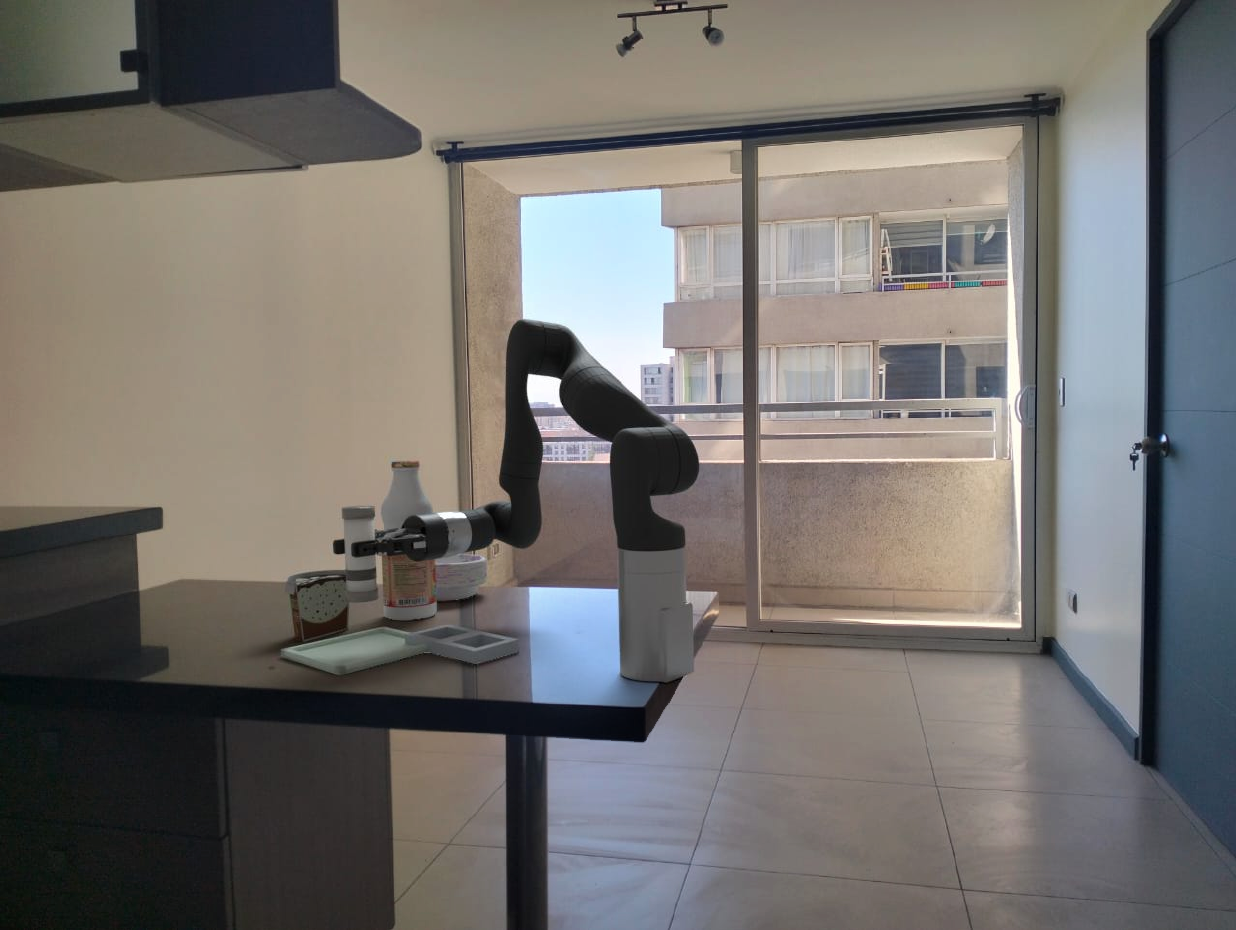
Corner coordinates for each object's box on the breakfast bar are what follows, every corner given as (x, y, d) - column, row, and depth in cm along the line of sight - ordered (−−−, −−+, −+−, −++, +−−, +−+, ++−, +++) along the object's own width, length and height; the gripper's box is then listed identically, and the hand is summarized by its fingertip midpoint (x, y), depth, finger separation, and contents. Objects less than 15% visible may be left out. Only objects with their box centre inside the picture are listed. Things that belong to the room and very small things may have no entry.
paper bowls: (501, 592, 180) (500, 553, 179) (462, 607, 166) (460, 565, 165) (437, 588, 185) (436, 551, 185) (394, 602, 171) (393, 562, 171)
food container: (330, 624, 153) (327, 567, 153) (354, 627, 150) (352, 569, 150) (270, 640, 143) (267, 579, 142) (295, 644, 140) (292, 581, 139)
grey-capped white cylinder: (384, 598, 133) (381, 506, 133) (356, 604, 130) (353, 509, 129) (366, 594, 137) (363, 505, 136) (339, 600, 133) (335, 508, 132)
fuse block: (519, 652, 131) (518, 639, 131) (475, 665, 125) (474, 651, 125) (448, 636, 142) (448, 624, 142) (405, 647, 136) (404, 634, 136)
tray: (444, 648, 135) (444, 640, 135) (339, 675, 121) (339, 667, 121) (384, 633, 145) (383, 626, 145) (281, 657, 132) (281, 649, 132)
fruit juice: (372, 617, 158) (367, 462, 157) (414, 608, 165) (409, 459, 164) (406, 623, 152) (401, 462, 151) (448, 613, 160) (443, 460, 158)
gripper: (409, 510, 148) (316, 520, 135) (463, 515, 138) (369, 527, 126) (411, 554, 148) (318, 569, 135) (465, 562, 139) (371, 579, 126)
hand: (343, 548), depth 131 cm, fingers closed on grey-capped white cylinder, 4 cm apart
